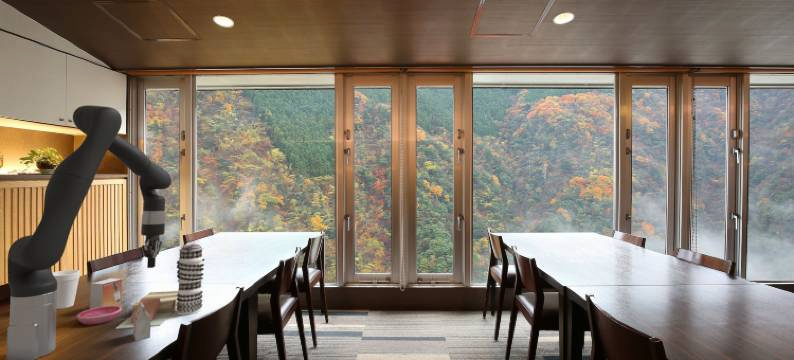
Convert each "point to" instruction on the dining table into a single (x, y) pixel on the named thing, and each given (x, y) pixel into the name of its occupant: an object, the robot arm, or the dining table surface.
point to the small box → (106, 293)
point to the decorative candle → (190, 280)
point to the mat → (156, 321)
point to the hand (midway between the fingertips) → (151, 267)
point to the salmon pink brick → (149, 307)
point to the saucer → (99, 315)
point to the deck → (162, 301)
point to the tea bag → (141, 323)
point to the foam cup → (66, 287)
